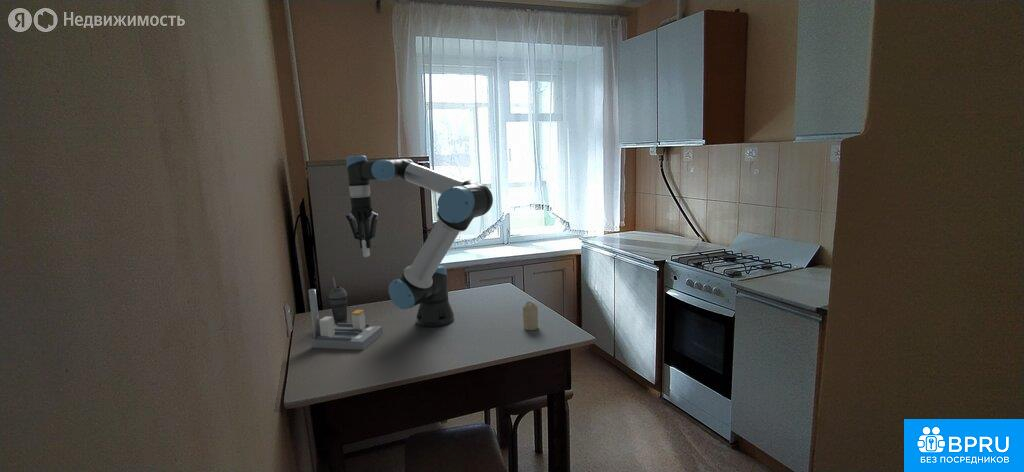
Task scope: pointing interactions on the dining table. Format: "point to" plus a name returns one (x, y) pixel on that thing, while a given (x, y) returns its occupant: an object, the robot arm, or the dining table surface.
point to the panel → (349, 337)
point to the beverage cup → (338, 304)
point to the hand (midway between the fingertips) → (366, 256)
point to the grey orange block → (358, 319)
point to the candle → (530, 316)
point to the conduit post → (314, 313)
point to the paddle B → (327, 326)
